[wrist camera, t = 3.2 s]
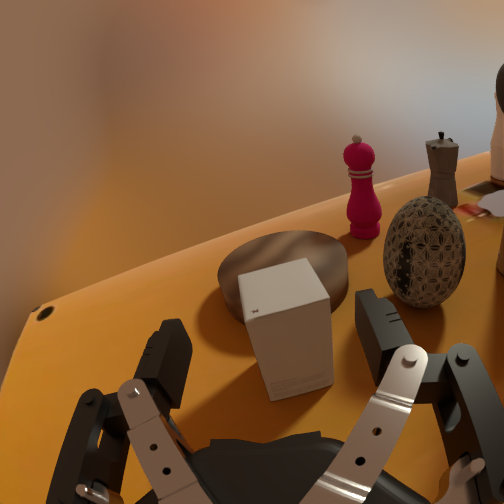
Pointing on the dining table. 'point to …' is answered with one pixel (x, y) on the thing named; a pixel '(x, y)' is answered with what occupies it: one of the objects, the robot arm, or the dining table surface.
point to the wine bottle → (498, 145)
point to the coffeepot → (443, 169)
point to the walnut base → (282, 251)
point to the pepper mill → (362, 191)
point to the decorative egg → (424, 252)
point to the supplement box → (289, 327)
